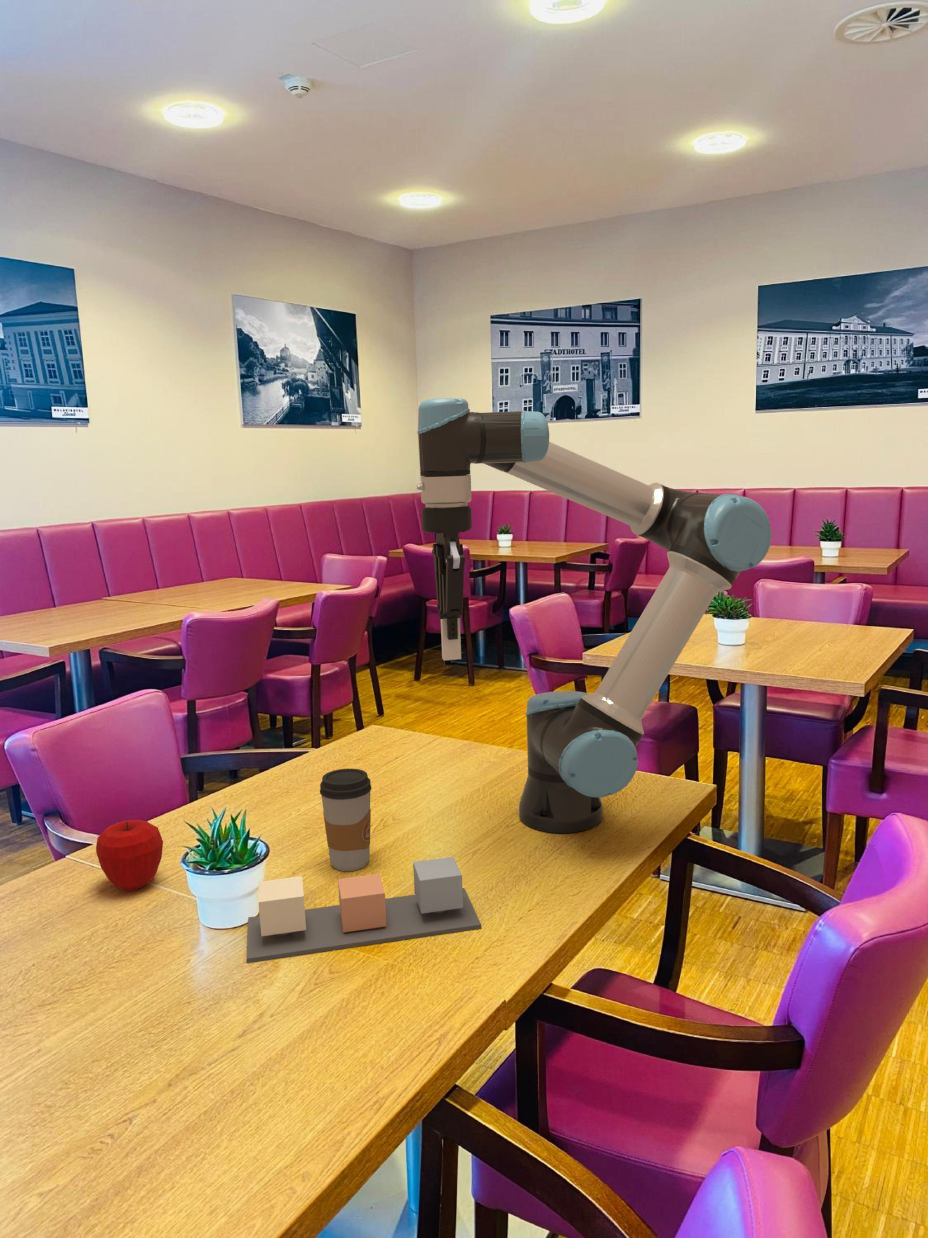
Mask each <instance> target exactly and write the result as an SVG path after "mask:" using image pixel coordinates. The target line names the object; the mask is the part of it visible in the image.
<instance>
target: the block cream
mask: <svg viewBox="0 0 928 1238" xmlns="http://www.w3.org/2000/svg"><path fill="white" fill-rule="evenodd" d="M303 882H304V881H303V876H300V875H299V876H294V877H293V876H291V877H286V878H277V879H268V880H262V881H258V911H259V912H258V913H259V916H260V927H261V936H267V935H274V934H282V933H289V932H296V931H303V930H306V920H305V910H306V908H305V907H306V906H305V896H304V884H303Z"/></svg>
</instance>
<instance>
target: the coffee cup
mask: <svg viewBox="0 0 928 1238" xmlns="http://www.w3.org/2000/svg"><path fill="white" fill-rule="evenodd" d="M319 788H320V789H319V794H320V796H321V802H322V808H323V813H322V814H323V820H324V827H325V829H324V830H325V835H326V842H327V848H328V854H329V862H330V864H331V866H332V867H333V869H335V870H337V871H341V872H353V871H358V870H361V869H363V868H365V867H366V866H367V865H368V863H369V861H370V854H371V853H370V848H371V847H370V846H371V812H372V811H371V792H372V784H371V779H370V778H369V775H368V773H367V771H365V770H363V769H359V768H340V769H334V770H331V771H329V772H327V773H325V774H323V775H322V778H321V782H320V783H319Z"/></svg>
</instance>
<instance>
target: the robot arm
mask: <svg viewBox="0 0 928 1238" xmlns="http://www.w3.org/2000/svg"><path fill="white" fill-rule="evenodd" d="M470 410H471V409H470V408H469V402H468V401H467V399H465V398H458V397H456V398H454V397H452V398H451V397H449V398H448V397H447V398H446V397H445V398H444V397H443V398H431V399H425V400H423V401H422V402H420V404H419V405H418V410H417V411H418V419H417V431H416V433H417V437H418V456H419V475H420V476H419V477H420V483H417V485H416V489H417V491H418V490H419V491H420V497H421V498H420V499H421V500H420V501H421V503H422V504H424V505H425V506H424V507H422V509H420V510H421V512H420V513H421V514H420V515H421V530H422V531H423V532H424V533H426V534H427V533H429V534H435V543H432V548H431V549H432V550H431V554H432V558H433V564H434V567H433V568H434V579H435V589H436V608H437V610H438V611H439V614H438V619H439V620H440V635H441V636H440V637H441V658H442V660H443V661H455V660H462V644H461V642H462V640H461V638H462V637H461V617H462V616H464V579H465V578H464V575H465V572H464V571H465V563H466V557H465V554H464V546H463V543H461V542H460V536H459V533H464V532H469V531H471V530H472V528H473V517H472V515H473V514H472V511H473V510H472V507H471V506H470V505H468V504H469V503H470V502H472V477H471V476H472V475H471V465H472V464H476V465H477V464H480V465H481V464H483V465H485V466H488V467H491V468H493V469H496V470H497V471H500V472H504V473H506V474H508V475H511V476H513V477H516V478H518V479H520V480H523V481H525V482H527V483H530V484H532V485H534V486H536V487H539V488H541V489H543V490H546V491H549V492H550V493H553V494H555V495H558V496H560V497H562V498H565V499H567V500H569V501H572V502H573V503H576V504H579V505H581V506H583V507H585V508H588V509H591V510H593V511H594V512H595V511H596V512H598V513H600V514H602V515H604V516H606V517H608V518H612V519H614V520H617V521H619V522H621V523H623V524H626V525H628V526H630V530H631V533H633V534H634V535H636V536H639V537H641V538H644V539H645V540H648V541H650V542H651V543H653V544H655V545H657V546H659V547H661V548H663V549H665V550H667V553H666V555H667V560H668V564H669V566H668V569H667V571H666V573H665V574H664V575H663V578H662V579H661V581H660V583H659V584H658V586H657V588H656V589H655V591H654V593H653V594H652V596H651V598H650V600H649V601H648V603H647V605H646V606H645V608H644V609H643V611H642V613H641V615H640V617H639V618H638V620H637V621H636V623H635V624H634V626H633V627H632V630H631V631H630V633H629V634H628V636H627V638H626V640H625V642H624V643H623V645H622V646H621V648H620V650H619V652H618V653H617V655H616V657H615V658H614V660H613V661H612V664H611V665H610V666H609V668H608V670H607V672H606V674H604V677H603V678H602V680H601V682H600V684H599V686H598V687H597V689H596V690H595V691H594V692H592V693H588V692H584V691H573V690H570V691H569V690H564V691H563V690H562V691H548V692H547V691H546V692H542V693H537V694H534V695H532V696H530V697H529V698H528V700H527V702H526V712H525V717H526V738H527V739H526V740H527V741H526V743H527V778H526V781H525V784H524V787H523V791H522V794H521V797H520V800H519V803H518V817H519V820H520V821H521V822H522V824H523V825H525V826H527V827H529V828H532V829H534V830H536V831H541V832H545V833H546V832H547V833H553V834H554V833H555V834H561V833H562V834H567V833H568V834H569V833H570V834H571V833H578V832H583V831H587V830H589V829H592V828H595V827H597V826H598V825H599V824H600V823H602V820H603V817H604V815H603V810H604V808H603V807H604V806H603V802H602V799H601V798H605V797H608V796H612V795H615V794H617V793H619V792H620V791H621V790H623V789H625V788H626V787H627V786H628V784H630V782H631V781H632V779H633V778H634V777H635V775H636V772H637V768H638V765H639V760H638V752H637V749H636V747H637V746H638V744H639V743H640V741H641V739H642V738H643V736H644V733H645V731H644V727H643V724H642V718H643V717H644V715H645V713H646V712H647V710H648V709H649V707H650V705H651V703H652V702H653V700H654V698H655V697H656V695H657V693H658V692H659V690H660V689H661V687H662V685H663V683H664V682H665V680H666V678H667V677H668V675H669V674H670V671H671V670H672V668H673V667H674V665H675V664H676V662H677V660H678V659H679V656H680V655H681V654H682V652H683V650H684V648H685V647H686V646H687V645H686V644H687V643H688V642H689V640H690V638H691V636H692V635H693V633H694V631H695V629H696V628H697V626H698V625H699V623H700V622H701V620H702V618H703V616H704V615H705V613H706V611H708V608H709V606H710V605H711V602H713V599H714V598H715V596H716V595H717V594H718V593H720V592H724V591H728V590H731V588H732V587H733V585H734V583H735V582H736V580H737V579H738V577H739V575H740V573H741V572H743V571H748V570H750V569H752V568H753V569H754V568H755V567H757V566H758V565H759V564H760V563H761V562H762V561H763V560H764V559H765V557H766V555H767V554H768V552H769V550H770V547H771V543H772V537H773V536H772V535H773V534H772V527H771V523H770V519H769V516H768V514H767V512H766V510H765V509H764V508H763V506H761V504H759V503H758V502H757V501H755V500H754V499H751V498H749V497H747V496H741V495H740V494H739V495H738V494H735V493H723V494H721V493H720V494H719V493H709V492H707V493H705V492H695V491H694V492H693V491H686V490H680V489H674V488H672V487H668V486H666V485H663V484H661V483H659V482H652V483H651V484H646V483H644V482H641V481H640V480H637V479H634V478H632V477H631V476H629V475H625V474H624V473H622V472H619V471H617V470H615V469H612V468H610V467H608V466H605V465H603V464H601V463H599V462H597V461H593V460H591V459H590V458H587V457H585V456H582V455H580V454H578V453H577V452H573V451H571V450H569V449H567V448H564V447H562V446H560V445H558V444H555V443H553V442H551V441H550V428H549V427H550V426H549V423H548V420H547V418H546V416H545V415H544V414H543V413H542V412H540V411H530V410H529V411H526V410H519V411H518V410H517V411H492V412H491V411H490V412H489V411H487V412H479V411H477V412H475V411H470Z"/></svg>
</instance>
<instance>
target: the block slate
mask: <svg viewBox="0 0 928 1238" xmlns="http://www.w3.org/2000/svg"><path fill="white" fill-rule="evenodd" d="M412 864H413V865H412V869H413V870H412V871H413V890H414V891H413V892H414V895H415V896H416V899H417V902H418V905H419V908H420V911H421V914H423V913H430V912H437V911H444V910H451V909H458V908H463V890H462V888H463V874H462V872H461V870H460V868H459V865H458V863H457V861H456V860H455V857H454V856H448V857H440V858H433V859H424V860H417V861H413V862H412Z"/></svg>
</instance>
